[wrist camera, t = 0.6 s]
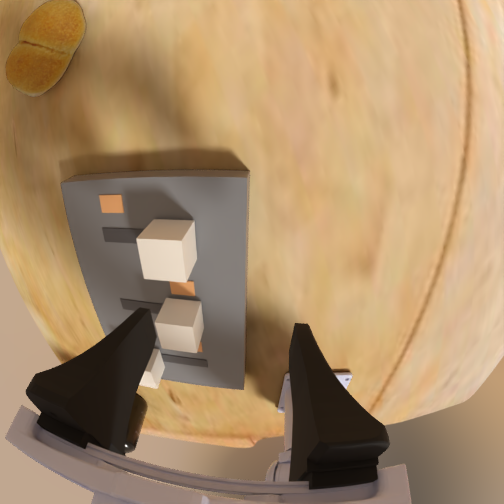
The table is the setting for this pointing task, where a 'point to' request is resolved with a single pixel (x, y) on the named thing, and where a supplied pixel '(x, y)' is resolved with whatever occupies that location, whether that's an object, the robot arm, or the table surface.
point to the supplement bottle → (135, 423)
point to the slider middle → (180, 325)
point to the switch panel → (156, 291)
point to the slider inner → (153, 370)
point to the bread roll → (45, 46)
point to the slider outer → (168, 250)
